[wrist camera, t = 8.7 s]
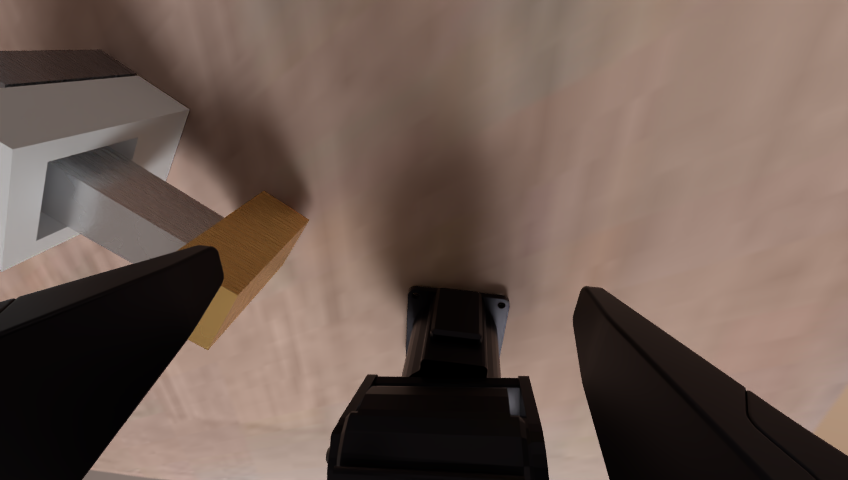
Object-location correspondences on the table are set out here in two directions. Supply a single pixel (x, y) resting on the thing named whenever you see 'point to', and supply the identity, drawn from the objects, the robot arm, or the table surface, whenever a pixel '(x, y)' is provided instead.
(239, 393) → the table surface
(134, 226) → the shaft
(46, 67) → the block
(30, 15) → the table surface
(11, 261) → the block
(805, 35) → the table surface
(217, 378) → the table surface
